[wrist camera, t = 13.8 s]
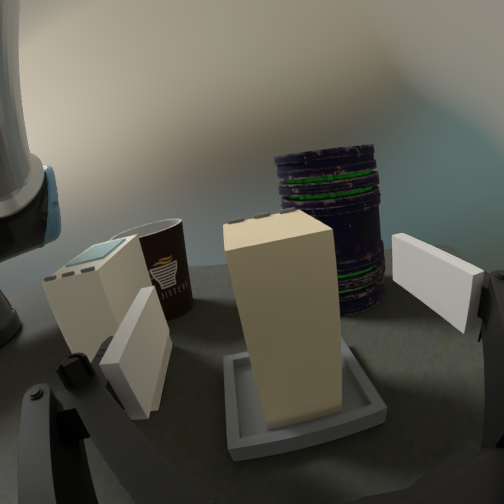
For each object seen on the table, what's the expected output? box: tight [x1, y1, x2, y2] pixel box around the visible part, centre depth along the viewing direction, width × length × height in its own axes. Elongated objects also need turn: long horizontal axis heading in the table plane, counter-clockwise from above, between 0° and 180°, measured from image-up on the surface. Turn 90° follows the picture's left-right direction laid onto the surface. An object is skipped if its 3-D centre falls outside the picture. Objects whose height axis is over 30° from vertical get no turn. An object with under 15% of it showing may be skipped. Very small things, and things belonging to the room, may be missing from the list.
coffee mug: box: [110, 219, 193, 321], centre depth 33 cm, size 12×9×10 cm
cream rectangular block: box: [223, 207, 342, 429], centre depth 16 cm, size 4×6×11 cm
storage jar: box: [274, 144, 385, 316], centre depth 29 cm, size 10×10×15 cm
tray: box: [223, 337, 387, 462], centre depth 18 cm, size 9×9×1 cm
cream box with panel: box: [41, 234, 173, 412], centre depth 21 cm, size 4×9×11 cm, turn 5°
